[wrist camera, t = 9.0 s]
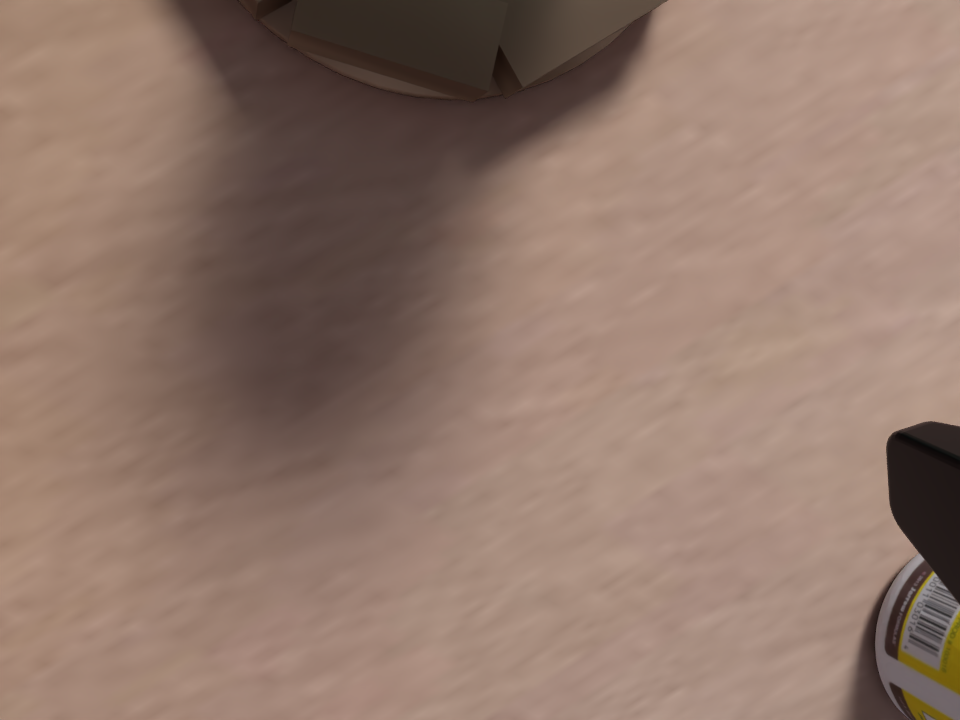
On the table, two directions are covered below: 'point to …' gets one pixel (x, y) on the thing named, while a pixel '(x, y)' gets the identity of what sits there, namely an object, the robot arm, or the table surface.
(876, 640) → the supplement bottle
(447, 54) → the ring seat
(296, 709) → the table surface
